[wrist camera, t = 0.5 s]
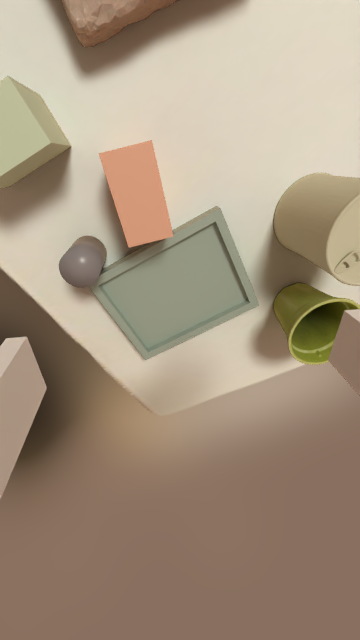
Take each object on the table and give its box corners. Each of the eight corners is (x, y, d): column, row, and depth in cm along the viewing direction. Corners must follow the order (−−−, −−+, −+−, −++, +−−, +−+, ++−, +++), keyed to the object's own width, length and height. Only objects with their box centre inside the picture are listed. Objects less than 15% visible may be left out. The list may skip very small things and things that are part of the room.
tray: (88, 277, 35) (85, 283, 33) (216, 205, 32) (220, 208, 30) (145, 352, 42) (145, 360, 40) (254, 298, 39) (259, 305, 37)
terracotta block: (131, 231, 33) (128, 247, 27) (108, 154, 28) (98, 153, 22) (168, 222, 32) (173, 236, 26) (150, 144, 28) (151, 140, 22)
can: (258, 217, 33) (308, 243, 23) (322, 153, 30) (412, 150, 20) (299, 265, 37) (357, 306, 27) (359, 212, 34) (450, 235, 24)
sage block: (-26, 141, 27) (-75, 136, 21) (40, 95, 25) (7, 75, 19) (9, 186, 29) (-27, 193, 23) (71, 146, 28) (51, 142, 22)
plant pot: (337, 283, 39) (382, 312, 32) (300, 335, 43) (332, 372, 36) (284, 262, 37) (320, 288, 29) (250, 319, 41) (274, 355, 33)
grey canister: (65, 246, 33) (50, 262, 27) (93, 229, 32) (83, 243, 27) (86, 273, 35) (75, 293, 29) (113, 258, 34) (107, 276, 29)
